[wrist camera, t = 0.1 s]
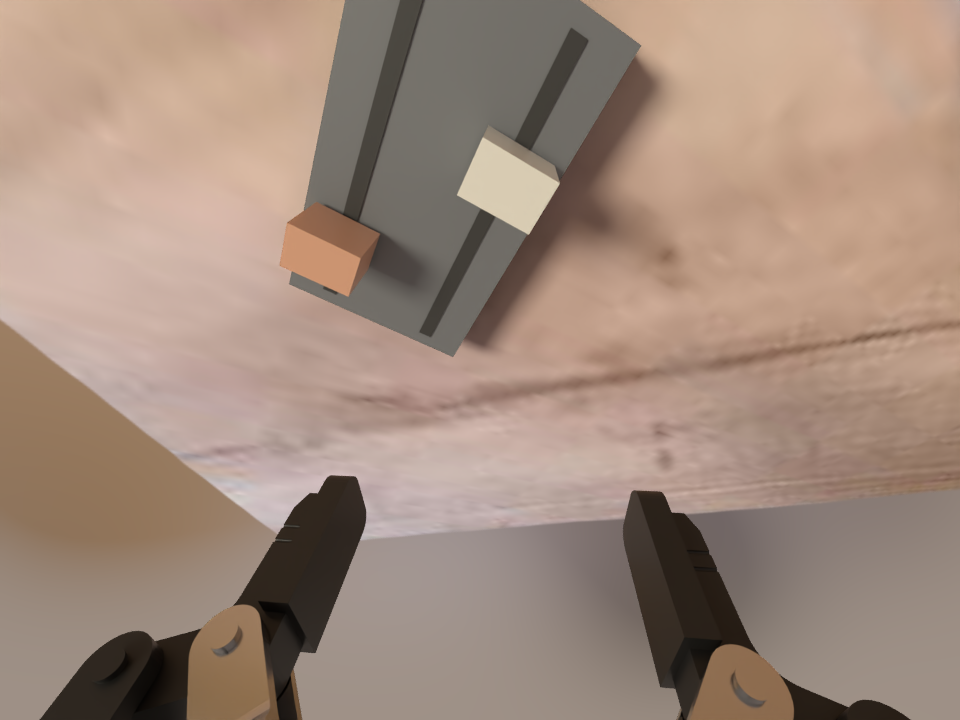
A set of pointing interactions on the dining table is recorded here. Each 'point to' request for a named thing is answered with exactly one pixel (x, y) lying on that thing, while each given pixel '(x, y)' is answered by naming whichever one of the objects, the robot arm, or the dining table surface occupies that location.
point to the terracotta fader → (328, 248)
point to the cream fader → (509, 181)
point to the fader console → (448, 141)
